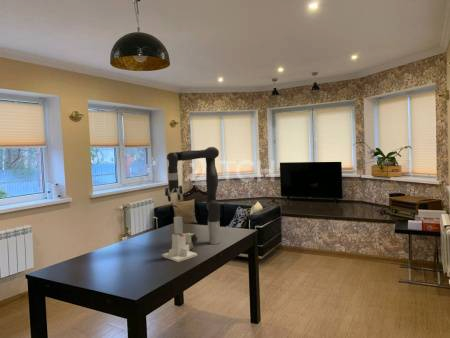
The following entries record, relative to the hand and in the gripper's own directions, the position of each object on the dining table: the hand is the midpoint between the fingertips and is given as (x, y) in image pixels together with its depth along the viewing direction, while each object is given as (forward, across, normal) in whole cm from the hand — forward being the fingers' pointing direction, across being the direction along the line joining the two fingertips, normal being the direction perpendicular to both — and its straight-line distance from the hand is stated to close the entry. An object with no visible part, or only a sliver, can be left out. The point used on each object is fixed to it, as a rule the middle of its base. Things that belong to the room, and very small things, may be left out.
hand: (174, 200), depth 250 cm
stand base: (+36, +10, +18) cm, 42 cm away
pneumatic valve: (+36, -6, +9) cm, 38 cm away
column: (+28, +11, +18) cm, 35 cm away
